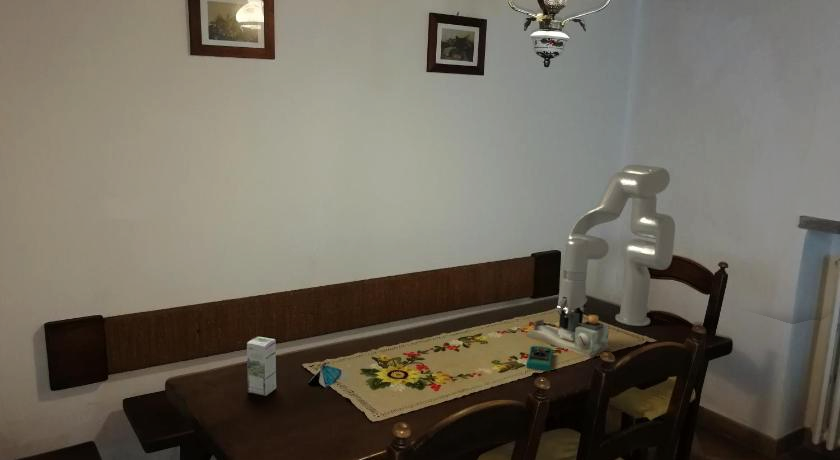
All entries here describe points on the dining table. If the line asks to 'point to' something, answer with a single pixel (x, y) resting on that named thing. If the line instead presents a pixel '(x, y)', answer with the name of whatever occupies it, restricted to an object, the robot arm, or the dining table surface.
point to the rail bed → (557, 341)
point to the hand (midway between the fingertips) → (570, 325)
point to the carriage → (570, 327)
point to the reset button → (593, 319)
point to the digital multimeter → (539, 358)
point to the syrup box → (261, 365)
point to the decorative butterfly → (330, 375)
